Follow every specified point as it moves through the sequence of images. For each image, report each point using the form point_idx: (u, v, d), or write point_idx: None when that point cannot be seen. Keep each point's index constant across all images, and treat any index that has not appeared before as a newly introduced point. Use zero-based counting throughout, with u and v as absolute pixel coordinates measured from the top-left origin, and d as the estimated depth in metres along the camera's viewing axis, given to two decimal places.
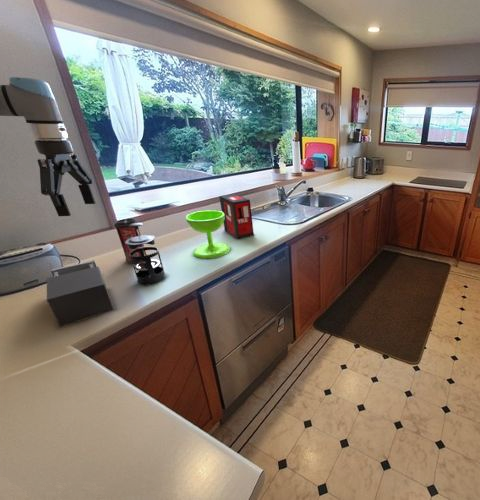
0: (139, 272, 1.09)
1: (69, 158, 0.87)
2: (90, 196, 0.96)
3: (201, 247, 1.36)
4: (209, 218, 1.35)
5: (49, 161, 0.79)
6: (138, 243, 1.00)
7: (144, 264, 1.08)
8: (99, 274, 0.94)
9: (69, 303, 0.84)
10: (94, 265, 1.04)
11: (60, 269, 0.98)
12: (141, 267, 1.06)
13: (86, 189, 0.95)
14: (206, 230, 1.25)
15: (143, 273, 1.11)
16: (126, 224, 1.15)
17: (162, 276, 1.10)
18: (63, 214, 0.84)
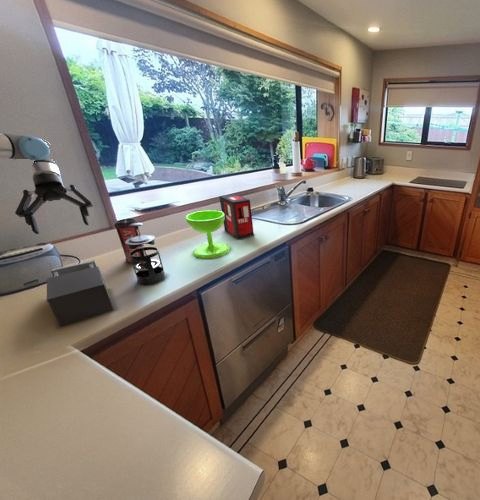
0: (139, 272, 1.09)
1: None
2: (36, 226, 1.00)
3: (201, 247, 1.36)
4: (209, 218, 1.35)
5: None
6: (138, 243, 1.00)
7: (144, 264, 1.08)
8: (99, 274, 0.94)
9: (69, 303, 0.84)
10: (94, 265, 1.04)
11: (60, 269, 0.98)
12: (141, 267, 1.06)
13: (34, 220, 1.00)
14: (206, 230, 1.25)
15: (143, 273, 1.11)
16: (126, 224, 1.15)
17: (162, 276, 1.10)
18: (87, 222, 1.06)
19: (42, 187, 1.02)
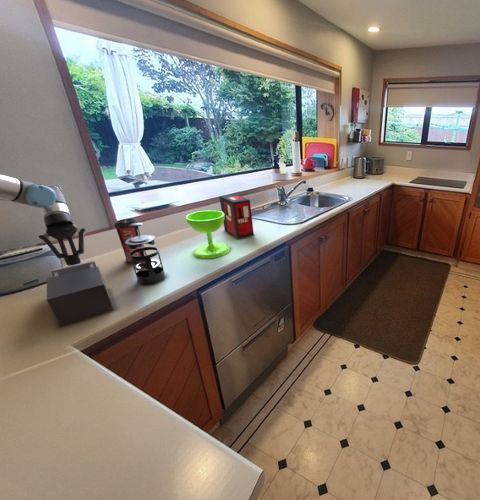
0: (139, 272, 1.09)
1: None
2: None
3: (201, 247, 1.36)
4: (209, 218, 1.35)
5: None
6: (138, 243, 1.00)
7: (144, 264, 1.08)
8: (99, 274, 0.94)
9: (69, 303, 0.84)
10: (94, 265, 1.04)
11: (60, 269, 0.98)
12: (141, 267, 1.06)
13: None
14: (206, 230, 1.25)
15: (143, 273, 1.11)
16: (126, 224, 1.15)
17: (162, 276, 1.10)
18: None
19: (53, 227, 1.04)
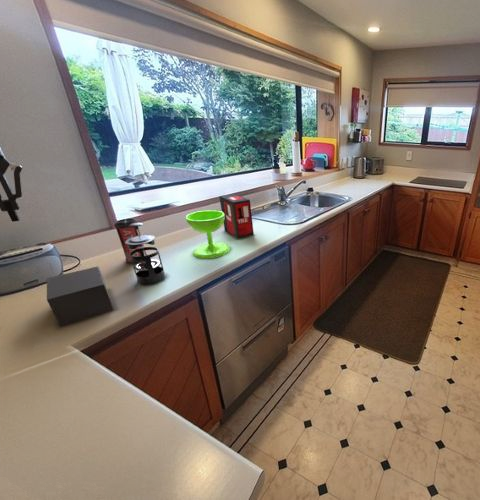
0: (139, 272, 1.09)
1: None
2: None
3: (201, 247, 1.36)
4: (209, 218, 1.35)
5: None
6: (138, 243, 1.00)
7: (144, 264, 1.08)
8: (99, 274, 0.94)
9: (69, 303, 0.84)
10: None
11: None
12: (141, 267, 1.06)
13: None
14: (206, 230, 1.25)
15: (143, 273, 1.11)
16: (126, 224, 1.15)
17: (162, 276, 1.10)
18: (18, 218, 0.91)
19: None
